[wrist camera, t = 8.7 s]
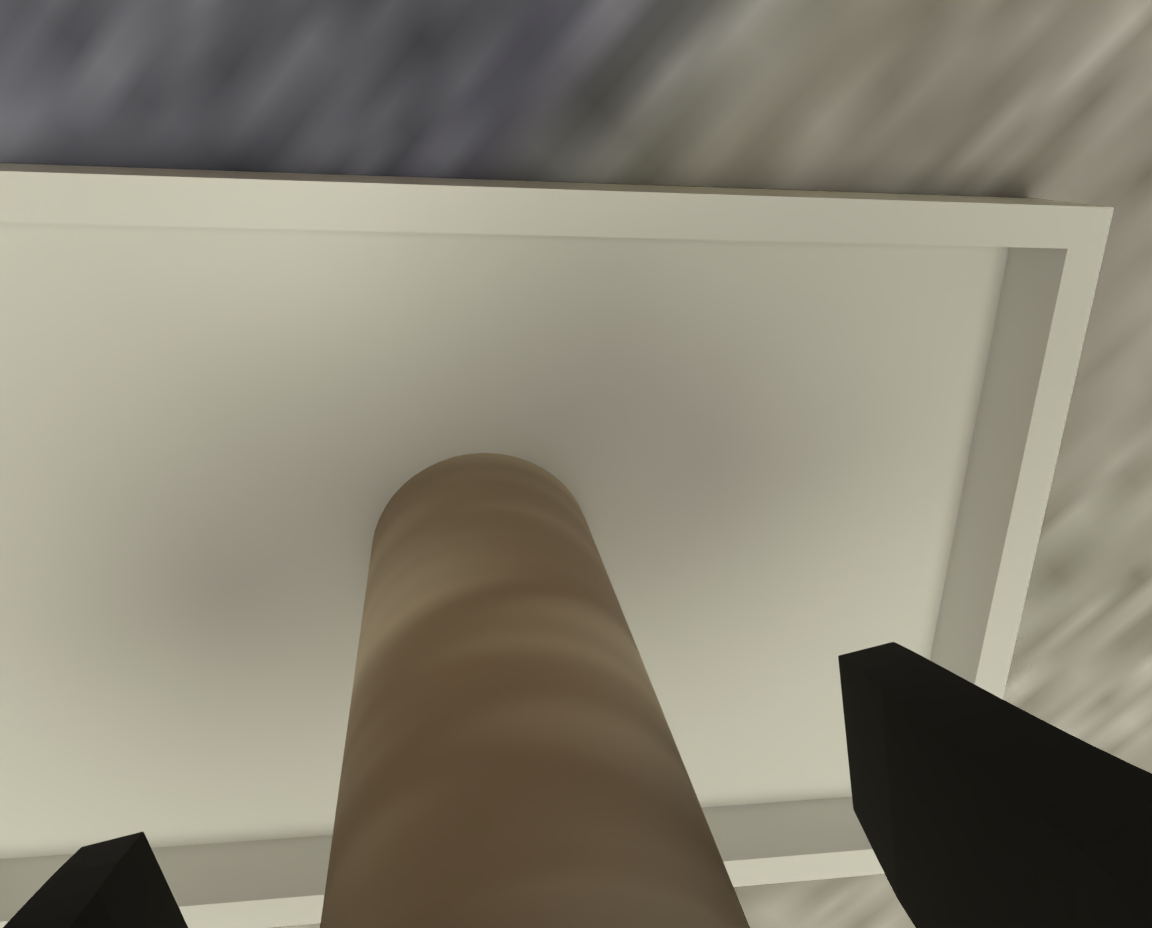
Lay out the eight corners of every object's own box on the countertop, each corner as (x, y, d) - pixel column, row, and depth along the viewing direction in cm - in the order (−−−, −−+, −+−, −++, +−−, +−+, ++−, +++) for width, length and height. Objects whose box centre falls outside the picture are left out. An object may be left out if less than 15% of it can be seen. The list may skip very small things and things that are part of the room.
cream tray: (1029, 197, 15) (1113, 207, 13) (912, 795, 19) (964, 866, 17) (-188, 156, 12) (-296, 161, 11) (-27, 865, 16) (-85, 958, 15)
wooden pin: (565, 428, 15) (746, 823, 6) (608, 619, 16) (806, 1156, 8) (343, 484, 14) (225, 973, 6) (406, 674, 16) (380, 1289, 7)
